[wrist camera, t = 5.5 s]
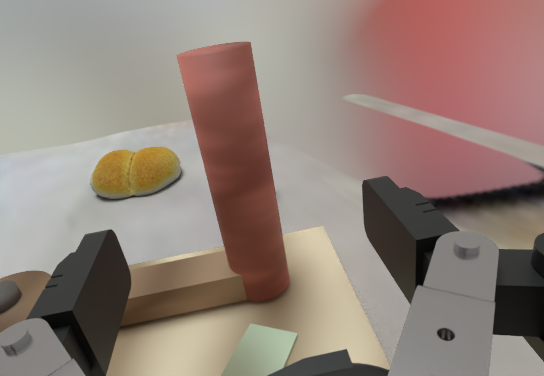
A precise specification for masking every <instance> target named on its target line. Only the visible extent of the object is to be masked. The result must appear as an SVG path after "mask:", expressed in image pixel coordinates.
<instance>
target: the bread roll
mask: <svg viewBox="0 0 544 376" xmlns="http://www.w3.org/2000/svg"><path fill="white" fill-rule="evenodd" d="M180 173H181V166H180V161H179V158H178V157H177V155H176V154H175V153H174V152H173V151H172V150H170V149H168V148H165V147H150V148H145V149H142V150H139V151H138V152H136V153H135V152H132V151H128V150H118V151H113V152H110V153H108V154H106V155H105V156H104V157H102V158H101V160H100V161H99V162H98V164H97V166H96V168H95V170H94V172H93V173H92V175H91V179H90V185H91V188H92V190H93V191H94V192H95V193H96V194H98V195H100V196H102V197H105V198H109V199H121V198H126V197H131V196H132V195H136V196H142V195H148V194H152V193H155V192H157V191H159V190H161V189H163V188H164V187H166V186H168V185H169V184H171V183H172V182H173V181H175V180H176V179H177V178H178V177H179V176H180Z"/></svg>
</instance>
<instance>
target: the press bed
mask: <svg viewBox="0 0 544 376" xmlns="http://www.w3.org/2000/svg"><path fill="white" fill-rule="evenodd" d="M282 235H283V242H284V248H285V254H286V260H287V266H288V272H289V283H288V286H287V287H286V289H285V290H284V291H283V292H282V293H280V294H279V295H277V296H275V297H273V298H271V299H267V300H263V301H251V300H243V301H239V302H234V303H229V304H224V305H220V306H215V307H210V308H206V309H201V310H196V311H191V312H187V313H182V314H177V315H172V316H168V317H163V318H158V319H153V320H149V321H144V322H139V323H135V324H130V325H125V326H120V329H119V332H118V336H117V339H116V343H115V346H114V350H113V353H112V357H111V360H110V364H109V367H108V371H107V374H106V376H267V375H270V374H272V373H274V372H276V371H278V370H280V369H282V368H284V367H286V366H289V365H291V364H293V363H295V362H297V361H299V360H301V359H303V358H308V357H312V356H317V355H321V354H326V353H330V352H335V351H339V350H344V349H347V351H348V353H349V356H350V359H351V361H352V363H362V364H370V365H374V366H378V367H382V368H385V369H388V370H390V367H391V366H390V364H389V362H388V360H387V358H386V356H385V354H384V352H383V350H382V348H381V346H380V343H379V341H378V339H377V337H376V335H375V333H374V331H373V329H372V327H371V325H370V323H369V321H368V319H367V317H366V314H365V312H364V310H363V308H362V306H361V304H360V302H359V300H358V298H357V296H356V294H355V292H354V290H353V288H352V285H351V283H350V281H349V279H348V277H347V275H346V273H345V271H344V269H343V267H342V265H341V263H340V261H339V259H338V256H337V254H336V252H335V250H334V248H333V246H332V244H331V242H330V240H329V238H328V236H327V234H326V232H325V230H324V227H323V226H321V227H316V228H311V229H306V230H301V231H296V232H291V233H286V234H282ZM224 250H225V248H224V246H222V247H217V248H213V249H208V250H203V251H198V252H193V253H188V254H183V255H178V256H173V257H168V258H163V259H158V260H153V261H149V262H144V263H139V264H134V265H129V266H128V267H129V270H131V269H136V268H141V267H146V266H151V265H156V264H160V263H165V262H170V261H175V260H180V259H185V258H190V257H195V256H200V255H205V254H210V253H214V252H219V251H224Z"/></svg>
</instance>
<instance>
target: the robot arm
mask: <svg viewBox="0 0 544 376" xmlns="http://www.w3.org/2000/svg"><path fill="white" fill-rule="evenodd" d="M362 193H363V213H364V226H365V231H366V234H367V237H368V239H369V241H370V242H371V244H372V246H373V247H374V249H375V250H376V252H377V253H378V255H379V256H380V258H381V260H382V261H383V263H384V264H385V266H386V267H387V269H388V270H389V272H390V274H391V275H392V277H393V278H394V280H395V281H396V283H397V284H398V286H399V288H400V289H401V291H402V292H403V294H404V295H405V297H406V299H407V300H408V302H409V303H410V305H411V306H410V309H409V312H408V315H407V318H406V321H405V324H404V327H403V330H402V333H401V336H400V339H399V342H398V346H397V349H396V352H395V355H394V358H393V361H392V364H391V367H390V370H388V369H385V368H382V367H378V366H374V365H370V364H362V363H352V361H351V359H350V356H349V353H348V351H347V349H344V350H339V351H335V352H330V353H326V354H321V355H317V356H312V357H308V358H303V359H301V360H299V361H297V362H295V363H293V364H291V365H289V366H286V367H284V368H282V369H280V370H278V371H276V372H274V373H272V374H270V375H267V376H489V367H490V356H491V345H492V334H494V335H511V336H523V337H524V338H525V340H526V341H527V342H528V343H529V344H530V346H531V347H532V348H533V349H534V351H535V352H536V353H537V354H538V355H539V357H540V358H541V359H542V360H543V361H544V233H542V234H540V235H539V236H537V237H536V239H535V242H534V247H533V250H514V249H498V247H497V245H496V244H495V243H494V242H493V241H492V240H490V239H489V238H487V237H485V236H483V235H480V234H477V233H473V232H467V231H459V230H458V229H457V228H456V227H455V226H454V225H453V224H452V223H451V222H450V221H449V220H448V219H447V218H446V217H445V216H444V215H442V214H441V213H440V212H439V211H438V210H436V208H435V207H434V206H433V205H432V204H431V203H430V204H429V201H428V200H427V199H426V198H424V197H423V196H422V195H421V194H420V193H418V192H416V191H413V190H411V189H409V188H406V187H405V188H399V187H398V186H397V185H396V184H395V183H394V182H393V181H392V180H391V179H390V178H389V177H388V176H383V177H379V178H373V179H368V180H364V181H363V184H362ZM130 290H131V274H130V270H129V267H128V264H127V262H126V259H125V257H124V254H123V252H122V249H121V247H120V244H119V242H118V239H117V236H116V234H115V233H114V231H113V230H105V231H100V232H95V233H90V234H86V235H85V236H84V237H83V239H82V241H81V243H80V245H79V247H78V249H77V250H76V252H74V253H70V254H69V255H68V256H67V257H66V258H65V259H64V260H63V261H62V262H60V263H59V264H58V265H57V267H56V269H55V270H54V272H53V274H52V276H51V279H49V281H48V282H47V284H46V286H45V289H43V291H42V293H41V294H40V296H39V298H38V300H37V301H36V303H35V305H34V306H33V308H32V310H31V312H30V313H29V315H28V317H27V318H26V320H24V321H21V322H18V323H16V324H14V325H12V326H10V327H8V328H7V329H5V330H4V331H2V332H1V333H0V376H106V374H107V371H108V367H109V364H110V360H111V357H112V353H113V350H114V346H115V343H116V339H117V336H118V332H119V329H120V325H121V322H122V318H123V315H124V311H125V307H126V304H127V300H128V297H129V293H130Z"/></svg>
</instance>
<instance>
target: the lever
mask: <svg viewBox="0 0 544 376" xmlns="http://www.w3.org/2000/svg"><path fill="white" fill-rule="evenodd" d="M177 59H178V63H179V67H180V71H181V75H182V79H183V83H184V87H185V91H186V95H187V99H188V103H189V107H190V111H191V115H192V119H193V123H194V127H195V131H196V135H197V139H198V143H199V147H200V151H201V155H202V159H203V163H204V167H205V171H206V175H207V179H208V183H209V187H210V191H211V195H212V200H213V204H214V208H215V212H216V216H217V220H218V224H219V228H220V232H221V236H222V240H223V244H224V248H225V250H224V251H219V252H214V253H210V254H205V255H200V256H195V257H190V258H185V259H180V260H175V261H170V262H165V263H160V264H156V265H151V266H146V267H141V268H136V269H131V270H130V274H131V290H130V293H129V297H128V300H127V304H126V307H125V311H124V315H123V318H122V322H121V325H120V326H125V325H130V324H135V323H139V322H144V321H149V320H153V319H158V318H163V317H168V316H172V315H177V314H182V313H187V312H191V311H196V310H201V309H206V308H210V307H215V306H220V305H224V304H229V303H234V302H239V301H243V300H251V301H263V300H267V299H271V298H273V297H275V296H277V295H279V294H280V293H282V292H283V291H284V290H285V289H286V287H287V286H288V283H289V272H288V266H287V260H286V254H285V248H284V242H283V235H282V229H281V223H280V217H279V211H278V205H277V199H276V193H275V187H274V181H273V175H272V169H271V163H270V157H269V151H268V145H267V139H266V133H265V127H264V121H263V115H262V109H261V103H260V98H259V91H258V85H257V79H256V73H255V67H254V60H253V55H252V48H251V43H250V42H234V43H225V44H219V45H213V46H208V47H203V48H198V49H194V50H190V51H186V52H184V53H181V54H178V55H177ZM49 279H51V275H49V274H48V273H46V272H43V271H26V272H20V273H16V274H12V275H9V276H6V277H3V278H1V279H0V333H1V332H2V331H4V330H5V329H7V328H8V327H10V326H12V325H14V324H16V323H18V322H21V321H24V320H26V318H27V317H28V315H29V313H30V312H31V310H32V308H33V306H34V305H35V303H36V301H37V300H38V298H39V296H40V294H41V293H42V291H43V289H45V286H46V284H47V282H48V281H49Z"/></svg>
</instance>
